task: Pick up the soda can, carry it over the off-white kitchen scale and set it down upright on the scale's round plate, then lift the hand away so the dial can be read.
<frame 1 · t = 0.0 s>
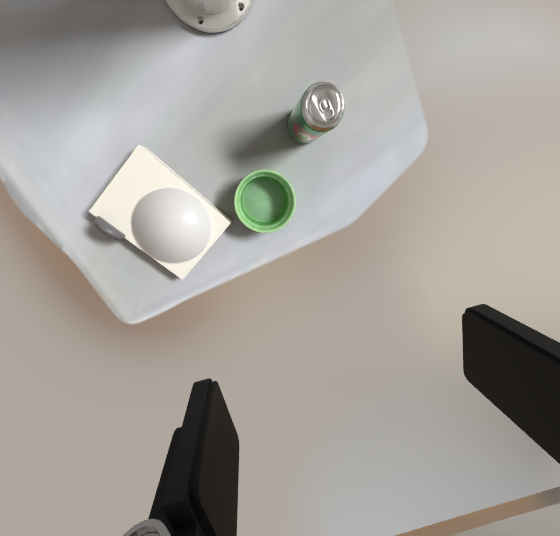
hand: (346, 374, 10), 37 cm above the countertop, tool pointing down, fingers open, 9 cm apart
scale: (166, 215, 43), on the countertop
ramekin: (263, 200, 45), on the countertop
soda can: (303, 125, 42), on the countertop
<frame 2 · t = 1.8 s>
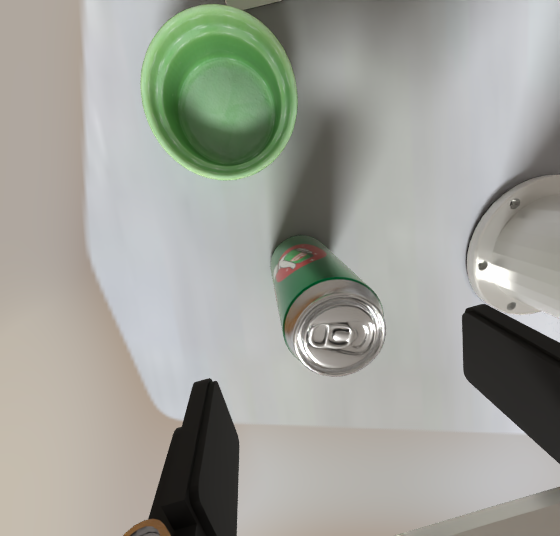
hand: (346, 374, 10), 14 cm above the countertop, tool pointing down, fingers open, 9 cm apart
ramekin: (228, 116, 20), on the countertop
soda can: (299, 262, 24), on the countertop
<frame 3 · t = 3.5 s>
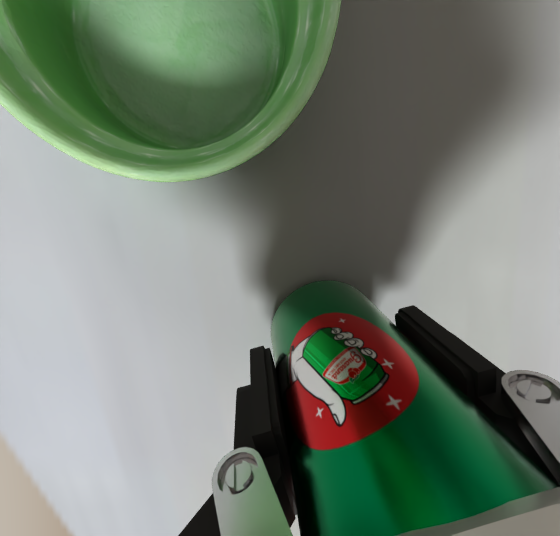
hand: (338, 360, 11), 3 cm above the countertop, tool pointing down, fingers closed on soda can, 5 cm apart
ramekin: (185, 53, 10), on the countertop
soda can: (319, 322, 14), on the countertop, touching gripper
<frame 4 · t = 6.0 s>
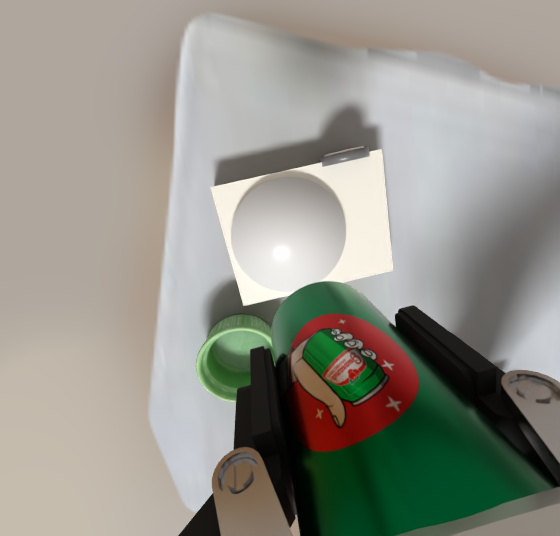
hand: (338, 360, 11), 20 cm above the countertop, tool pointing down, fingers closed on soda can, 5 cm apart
scale: (304, 228, 29), on the countertop
ramekin: (241, 342, 33), on the countertop
soda can: (319, 322, 14), point 17 cm above the countertop, touching gripper
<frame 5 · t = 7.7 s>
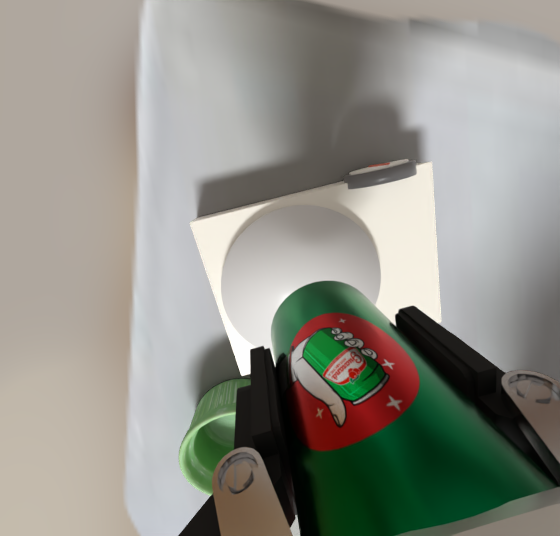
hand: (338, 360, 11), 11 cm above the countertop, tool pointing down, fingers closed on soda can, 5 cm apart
scale: (320, 267, 22), on the countertop
ramekin: (241, 411, 26), on the countertop
soda can: (319, 322, 14), point 8 cm above the countertop, touching gripper
when the fingers open (7 cm above the countertop, at t = 8.9 s): soda can drops 1 cm, resting on scale.
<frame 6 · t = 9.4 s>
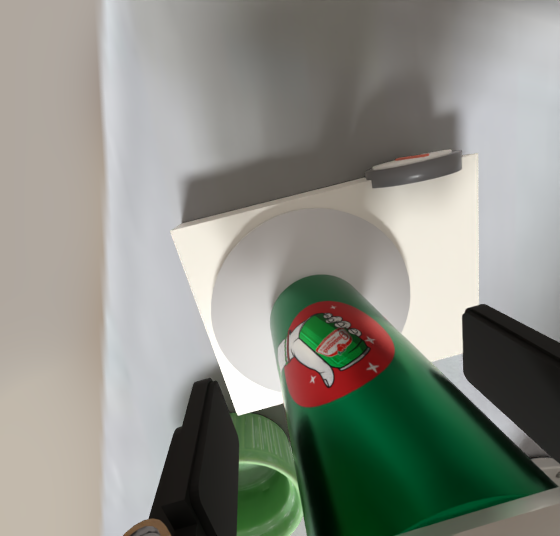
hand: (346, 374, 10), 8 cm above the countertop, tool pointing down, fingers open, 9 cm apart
scale: (332, 282, 18), on the countertop
ramekin: (237, 448, 22), on the countertop
soda can: (314, 313, 15), point 3 cm above the countertop, touching scale
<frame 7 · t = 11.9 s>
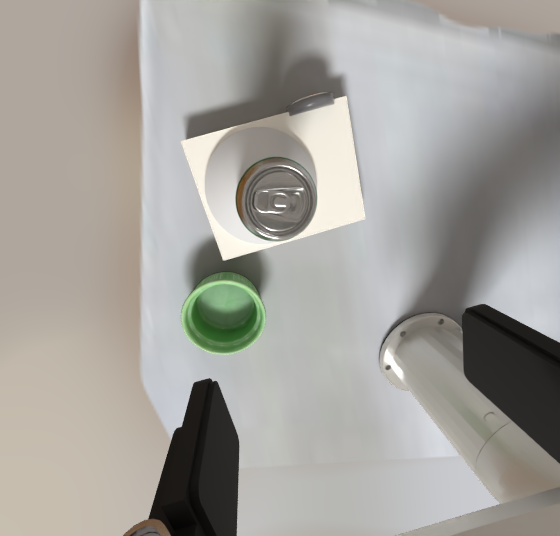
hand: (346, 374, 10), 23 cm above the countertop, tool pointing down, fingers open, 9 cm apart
scale: (277, 182, 30), on the countertop
ramekin: (226, 301, 34), on the countertop
soda can: (262, 190, 27), point 3 cm above the countertop, touching scale
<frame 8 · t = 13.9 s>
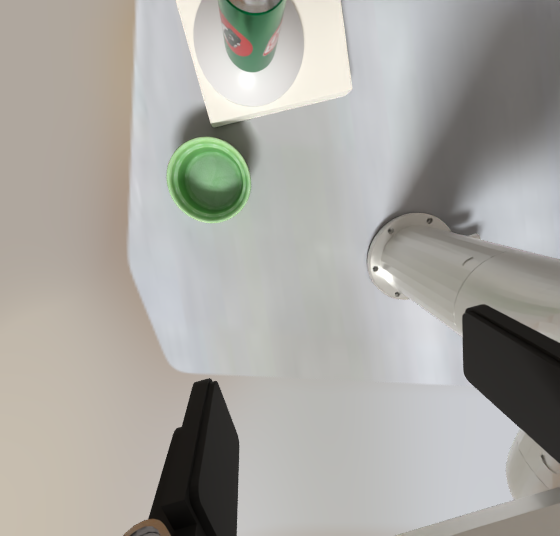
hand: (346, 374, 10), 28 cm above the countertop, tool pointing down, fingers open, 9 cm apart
scale: (267, 52, 31), on the countertop
ramekin: (214, 181, 35), on the countertop
soda can: (250, 46, 28), point 3 cm above the countertop, touching scale
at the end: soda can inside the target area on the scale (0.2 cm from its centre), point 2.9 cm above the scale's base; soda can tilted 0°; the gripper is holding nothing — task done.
